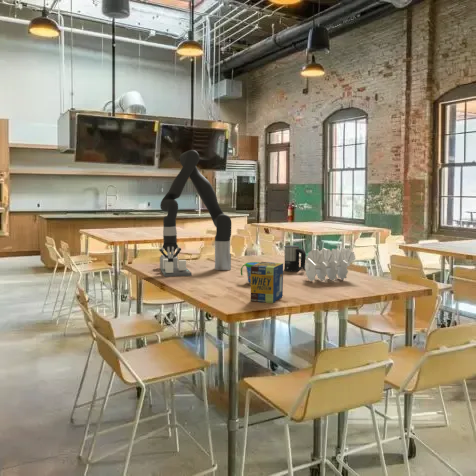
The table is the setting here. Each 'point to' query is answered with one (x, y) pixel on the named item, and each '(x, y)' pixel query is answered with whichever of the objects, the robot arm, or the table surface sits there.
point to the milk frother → (294, 258)
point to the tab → (169, 267)
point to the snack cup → (249, 269)
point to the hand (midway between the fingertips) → (170, 264)
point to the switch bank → (177, 273)
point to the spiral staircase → (328, 263)
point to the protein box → (266, 282)
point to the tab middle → (181, 265)
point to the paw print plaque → (175, 259)
